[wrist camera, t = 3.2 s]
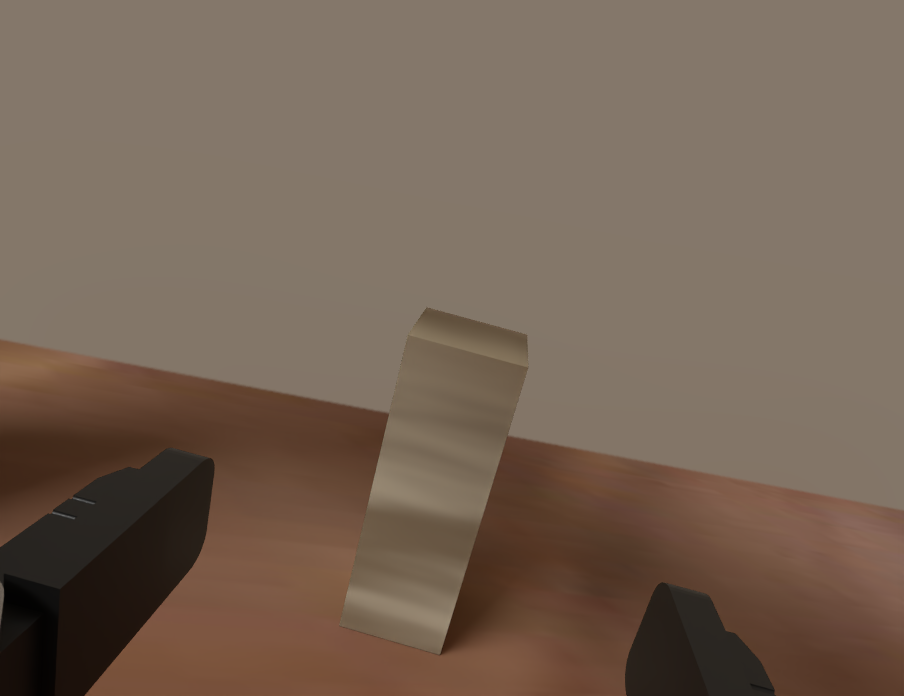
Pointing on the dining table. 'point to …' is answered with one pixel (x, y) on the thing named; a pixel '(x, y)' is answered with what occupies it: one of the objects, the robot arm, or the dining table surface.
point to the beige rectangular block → (434, 477)
